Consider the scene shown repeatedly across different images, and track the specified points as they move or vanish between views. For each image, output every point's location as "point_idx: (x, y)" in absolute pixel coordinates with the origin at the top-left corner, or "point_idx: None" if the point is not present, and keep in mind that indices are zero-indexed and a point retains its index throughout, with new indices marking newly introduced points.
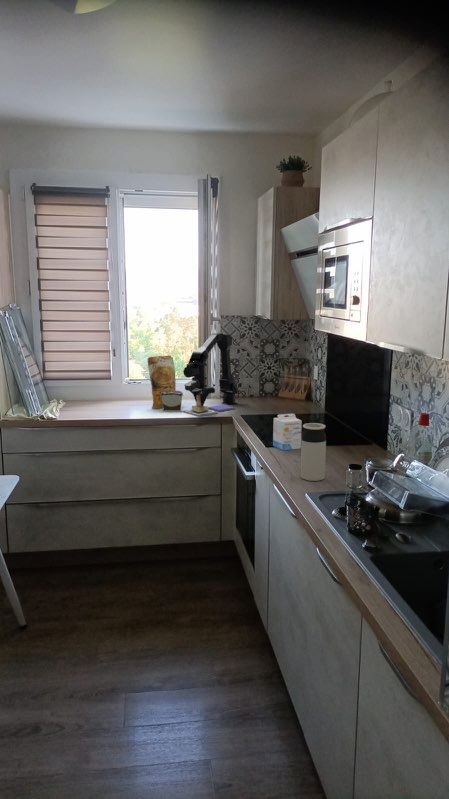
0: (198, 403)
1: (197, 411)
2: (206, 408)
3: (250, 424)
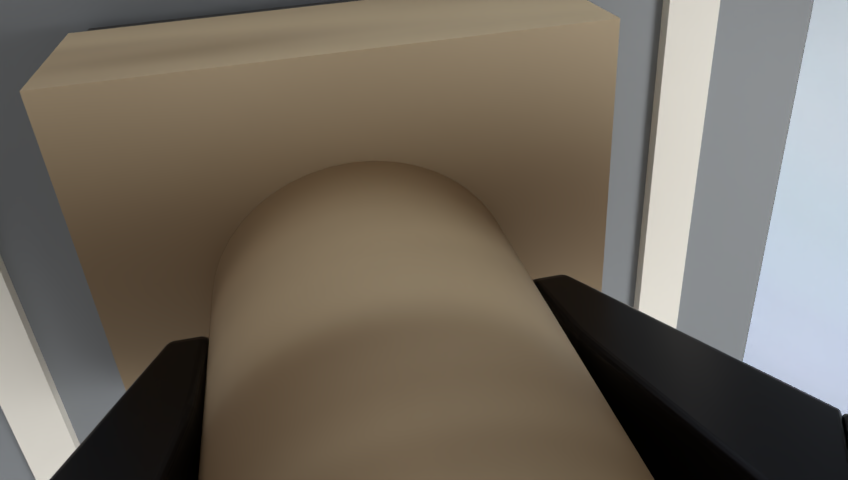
0: (276, 281)
1: (174, 24)
2: None
3: None
